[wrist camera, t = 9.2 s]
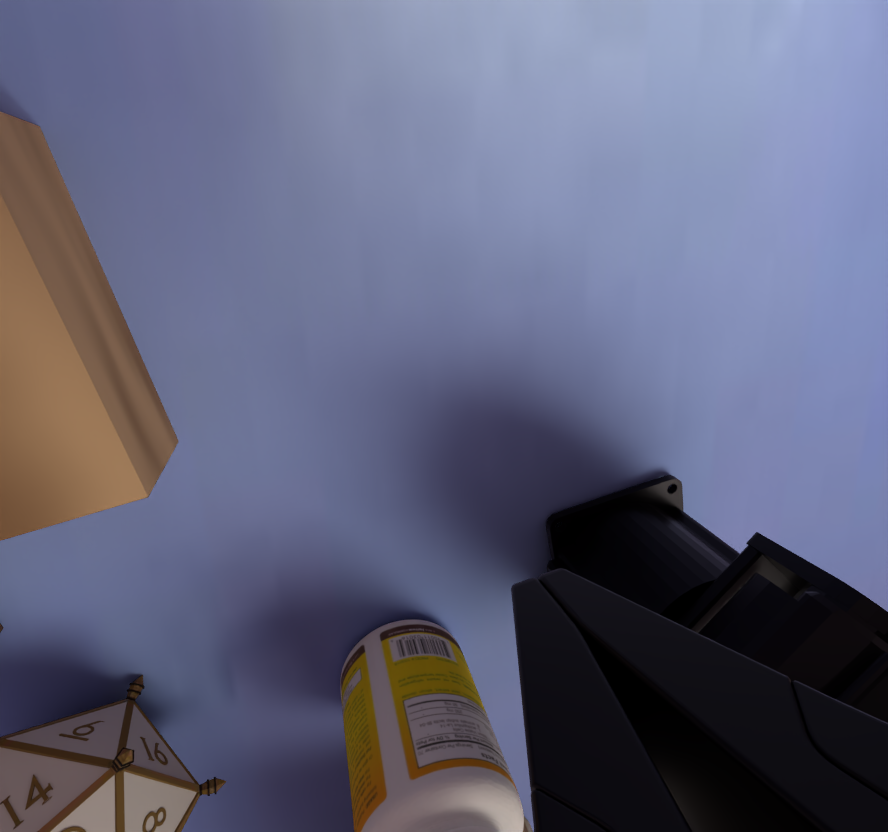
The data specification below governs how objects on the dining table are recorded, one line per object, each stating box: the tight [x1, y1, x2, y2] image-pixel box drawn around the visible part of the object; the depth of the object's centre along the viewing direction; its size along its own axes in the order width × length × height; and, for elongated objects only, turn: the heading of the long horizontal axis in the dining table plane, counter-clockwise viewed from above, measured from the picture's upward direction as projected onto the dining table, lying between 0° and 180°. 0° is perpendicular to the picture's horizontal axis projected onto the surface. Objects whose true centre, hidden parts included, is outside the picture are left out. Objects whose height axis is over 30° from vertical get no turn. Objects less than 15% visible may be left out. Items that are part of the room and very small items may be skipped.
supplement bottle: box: [340, 619, 524, 832], centre depth 20 cm, size 6×6×10 cm
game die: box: [0, 675, 226, 832], centre depth 18 cm, size 9×8×10 cm
